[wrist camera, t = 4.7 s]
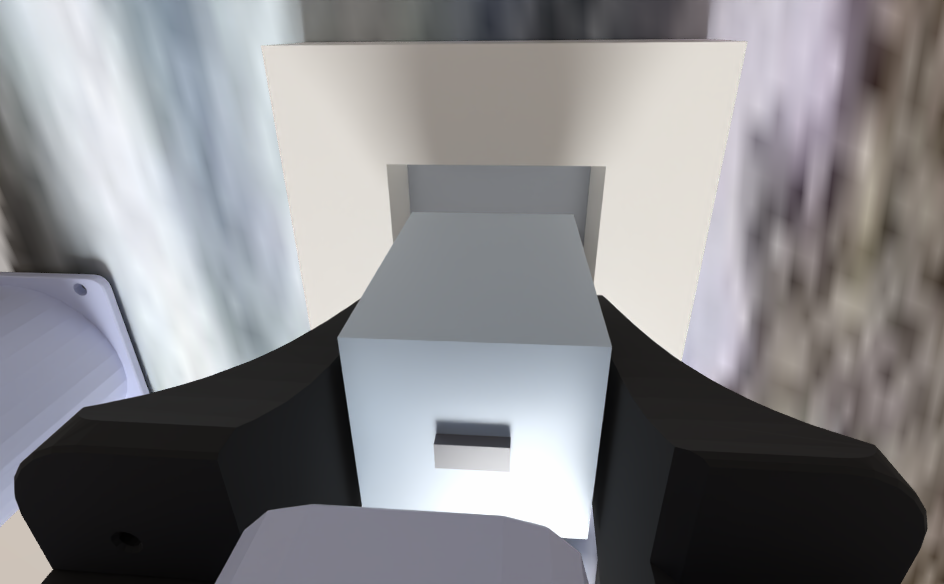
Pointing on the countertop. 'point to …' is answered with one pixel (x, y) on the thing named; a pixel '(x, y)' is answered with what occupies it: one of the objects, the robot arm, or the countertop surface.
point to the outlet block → (508, 154)
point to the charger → (480, 371)
